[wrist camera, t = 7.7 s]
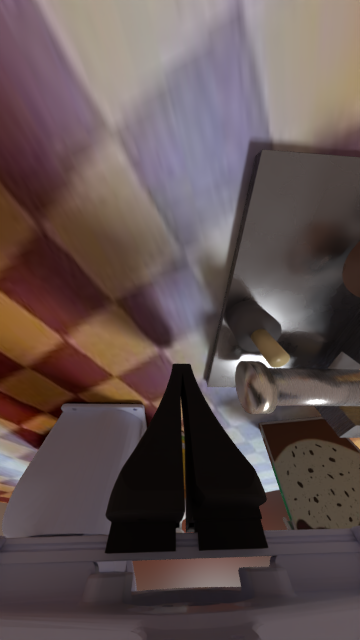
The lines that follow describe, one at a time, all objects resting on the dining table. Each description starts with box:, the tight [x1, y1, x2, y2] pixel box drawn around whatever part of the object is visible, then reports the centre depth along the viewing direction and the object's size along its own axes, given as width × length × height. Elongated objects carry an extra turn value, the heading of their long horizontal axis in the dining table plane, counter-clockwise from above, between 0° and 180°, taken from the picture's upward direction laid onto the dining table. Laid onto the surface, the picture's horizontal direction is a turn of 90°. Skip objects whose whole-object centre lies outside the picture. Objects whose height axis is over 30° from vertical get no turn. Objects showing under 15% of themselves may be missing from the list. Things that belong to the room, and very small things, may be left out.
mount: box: [207, 150, 360, 438], centre depth 9 cm, size 13×17×5 cm
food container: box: [259, 417, 360, 530], centre depth 18 cm, size 12×6×10 cm, turn 99°
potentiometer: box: [226, 300, 290, 368], centre depth 9 cm, size 3×3×4 cm
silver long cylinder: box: [235, 361, 360, 414], centre depth 11 cm, size 9×4×4 cm, turn 87°
